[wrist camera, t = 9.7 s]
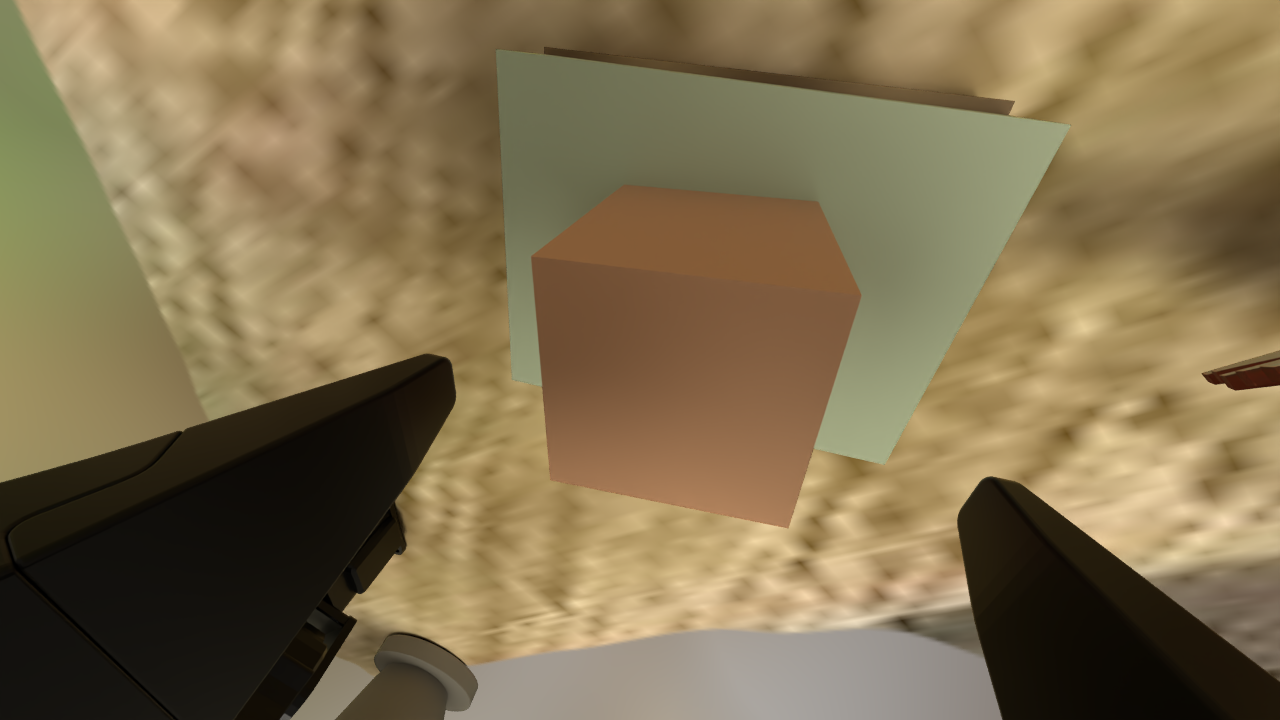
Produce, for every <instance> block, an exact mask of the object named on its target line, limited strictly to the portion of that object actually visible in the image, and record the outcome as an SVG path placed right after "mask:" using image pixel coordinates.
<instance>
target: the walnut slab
mask: <svg viewBox="0 0 1280 720" xmlns="http://www.w3.org/2000/svg"><path fill="white" fill-rule="evenodd" d="M544 54H546V55H554V56H561V57H569V58H577V59H584V60H592V61H599V62H607V63H615V64H622V65H630V66H637V67H645V68H653V69H660V70H668V71H676V72H683V73H691V74H698V75H706V76H714V77H721V78H729V79H736V80H744V81H752V82H759V83H767V84H774V85H782V86H790V87H797V88H805V89H812V90H820V91H828V92H835V93H843V94H850V95H858V96H866V97H873V98H881V99H889V100H896V101H904V102H911V103H919V104H927V105H934V106H942V107H949V108H957V109H965V110H972V111H980V112H987V113H995V114H1003V115H1009V113H1010V111H1011V109H1012V106H1013V104H1014V102H1015V101H1009V100H1000V99H992V98H983V97H974V96H966V95H957V94H948V93H939V92H931V91H922V90H913V89H905V88H896V87H887V86H879V85H870V84H861V83H852V82H844V81H835V80H826V79H818V78H809V77H800V76H792V75H783V74H774V73H766V72H757V71H748V70H739V69H731V68H722V67H713V66H705V65H696V64H687V63H679V62H670V61H661V60H652V59H644V58H635V57H626V56H618V55H609V54H600V53H592V52H583V51H574V50H565V49H557V48H548V47H544Z"/></svg>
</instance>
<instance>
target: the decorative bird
mask: <svg viewBox="0 0 1280 720" xmlns="http://www.w3.org/2000/svg"><path fill="white" fill-rule="evenodd" d="M1201 374H1202V375H1203V376H1204V377H1205V378H1206V380H1207V381H1208V382H1210V383H1212V384H1215V385H1217V384H1224V383H1225V384H1226V385H1227V387H1228V388H1231V389H1233V390H1245V389H1253V388H1261V387H1270V386H1278V385H1280V350H1279V351H1276V352H1273V353H1269V354H1266V355H1262V356H1259V357H1255V358H1252V359H1249V360H1245V361H1242V362H1238V363H1235V364H1232V365H1228V366H1225V367H1221V368H1218V369H1214V370H1211V371H1208V372H1204V373H1201Z"/></svg>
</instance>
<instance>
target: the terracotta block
mask: <svg viewBox="0 0 1280 720" xmlns="http://www.w3.org/2000/svg"><path fill="white" fill-rule="evenodd" d="M531 263H532V275H533V286H534V298H535V309H536V321H537V332H538V344H539V355H540V366H541V378H542V389H543V401H544V412H545V424H546V435H547V447H548V458H549V470H550V480H552V481H557V482H562V483H567V484H572V485H577V486H582V487H587V488H592V489H597V490H601V491H606V492H611V493H616V494H621V495H626V496H631V497H636V498H641V499H646V500H651V501H656V502H661V503H666V504H671V505H676V506H681V507H685V508H690V509H695V510H700V511H705V512H710V513H715V514H720V515H725V516H730V517H735V518H740V519H745V520H750V521H755V522H760V523H764V524H769V525H774V526H779V527H784V528H789V525H790V522H791V518H792V515H793V512H794V509H795V506H796V503H797V499H798V496H799V493H800V490H801V487H802V483H803V480H804V477H805V474H806V471H807V468H808V464H809V461H810V458H811V455H812V452H813V449H814V445H815V442H816V439H817V436H818V433H819V430H820V426H821V423H822V420H823V417H824V414H825V411H826V407H827V404H828V401H829V398H830V395H831V392H832V388H833V385H834V382H835V379H836V376H837V373H838V369H839V366H840V363H841V360H842V357H843V354H844V350H845V347H846V344H847V341H848V338H849V335H850V331H851V328H852V325H853V322H854V319H855V316H856V312H857V309H858V306H859V303H860V300H861V297H862V295H861V293H860V290H859V288H858V286H857V284H856V282H855V280H854V277H853V275H852V273H851V271H850V269H849V267H848V265H847V262H846V260H845V258H844V256H843V254H842V252H841V249H840V247H839V245H838V243H837V241H836V239H835V236H834V234H833V232H832V230H831V228H830V226H829V223H828V221H827V219H826V217H825V215H824V213H823V210H822V208H821V206H820V204H819V202H817V201H805V200H794V199H783V198H771V197H760V196H748V195H737V194H726V193H714V192H703V191H691V190H680V189H669V188H657V187H646V186H634V185H623V186H621V187H620V188H619V189H618V190H616V191H615V192H614V193H612V194H611V195H610V196H608V197H607V198H606V199H605V200H603V201H602V202H601V203H599V204H598V205H597V206H596V207H594V208H593V209H592V210H590V211H589V212H588V213H586V214H585V215H584V216H583V217H581V218H580V219H579V220H577V221H576V222H575V223H573V224H572V225H571V226H570V227H568V228H567V229H566V230H564V231H563V232H562V233H560V234H559V235H558V236H557V237H555V238H554V239H553V240H551V241H550V242H549V243H547V244H546V245H545V246H544V247H542V248H541V249H540V250H538V251H537V252H536V253H535V254H533V255H532V256H531Z"/></svg>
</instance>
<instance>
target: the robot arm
mask: <svg viewBox="0 0 1280 720" xmlns="http://www.w3.org/2000/svg"><path fill="white" fill-rule="evenodd" d="M455 401H456V389H455V382H454V375H453V369H452V364H451V362H450V360H449V359H448V358H446V357H442V356H438V355H433V354H423V355H419V356H416V357H413V358H410V359H407V360H403V361H400V362H397V363H394V364H391V365H387V366H384V367H381V368H378V369H375V370H372V371H368V372H365V373H362V374H359V375H356V376H352V377H349V378H346V379H343V380H340V381H336V382H333V383H330V384H327V385H324V386H320V387H317V388H314V389H311V390H308V391H305V392H301V393H298V394H295V395H292V396H289V397H285V398H282V399H279V400H276V401H273V402H269V403H266V404H263V405H260V406H257V407H254V408H250V409H247V410H244V411H241V412H238V413H234V414H231V415H228V416H225V417H222V418H218V419H215V420H212V421H209V422H206V423H202V424H199V425H196V426H193V427H190V428H187V429H185V430H184V431H183V432H182V431H176V432H174V433H170V434H167V435H164V436H161V437H157V438H154V439H151V440H148V441H145V442H141V443H138V444H135V445H131V446H128V447H125V448H121V449H118V450H115V451H112V452H108V453H105V454H102V455H98V456H95V457H92V458H88V459H84V460H81V461H78V462H74V463H70V464H67V465H63V466H59V467H56V468H52V469H49V470H45V471H41V472H38V473H34V474H31V475H27V476H23V477H20V478H16V479H13V480H9V481H5V482H1V483H0V720H290V719H291V718H292V716H293V715H294V714H295V713H296V712H297V711H298V709H299V708H300V707H301V706H302V704H303V703H304V702H305V700H306V699H307V698H308V697H309V695H310V694H311V693H312V691H313V690H314V688H315V687H316V685H317V684H318V682H319V681H320V679H321V678H322V676H323V674H324V673H325V671H326V670H327V668H328V666H329V665H330V663H331V662H332V660H333V658H334V657H335V655H336V654H337V652H338V651H339V649H340V647H341V646H342V644H343V643H344V641H345V639H346V638H347V636H348V635H349V633H350V632H351V630H352V628H353V627H354V625H355V624H356V622H357V620H356V619H355V618H353V617H352V616H347V615H346V614H344V613H343V612H342V611H343V610H344V609H345V607H346V606H347V605H348V604H349V602H350V601H351V600H352V598H353V597H354V596H355V595H356V593H358V594H362V593H363V592H365V591H366V590H367V588H368V587H369V586H370V585H371V583H372V582H373V581H374V579H375V578H376V577H377V576H378V574H379V573H380V572H381V570H382V569H383V568H384V566H385V565H386V564H387V563H388V561H389V560H390V559H391V557H392V556H393V555H394V554H397V555H401V554H402V553H403V552H404V551H405V549H406V546H405V543H404V539H403V536H402V532H401V528H400V525H399V521H398V518H397V514H396V510H395V507H394V501H395V500H396V499H397V497H398V496H399V494H400V493H401V492H402V490H403V489H404V488H405V486H406V485H407V483H408V482H409V481H410V479H411V478H412V476H413V475H414V473H415V472H416V470H417V468H418V467H419V465H420V464H421V462H422V460H423V458H424V457H425V455H426V453H427V452H428V450H429V448H430V446H431V445H432V443H433V441H434V440H435V438H436V436H437V434H438V433H439V431H440V429H441V428H442V426H443V424H444V422H445V421H446V419H447V417H448V416H449V414H450V412H451V410H452V409H453V407H454V404H455ZM957 525H958V532H959V538H960V543H961V549H962V555H963V561H964V567H965V572H966V578H967V584H968V590H969V596H970V602H971V607H972V612H973V616H974V621H975V625H976V629H977V633H978V636H979V640H980V643H981V647H982V650H983V654H984V657H985V661H986V664H987V668H988V671H989V675H990V678H991V682H992V685H993V688H994V692H995V695H996V699H997V702H998V706H999V709H1000V713H1001V717H1002V720H1280V681H1278V680H1277V679H1276V678H1275V677H1273V676H1272V675H1271V674H1269V673H1268V672H1267V671H1265V670H1264V669H1263V668H1261V667H1260V666H1259V665H1257V664H1256V663H1255V662H1254V661H1252V660H1251V659H1250V658H1248V657H1247V656H1246V655H1244V654H1243V653H1242V652H1240V651H1239V650H1238V649H1237V648H1235V647H1234V646H1233V645H1231V644H1230V643H1229V642H1227V641H1226V640H1225V639H1223V638H1222V637H1221V636H1219V635H1218V634H1217V633H1216V632H1214V631H1213V630H1212V629H1210V628H1209V627H1208V626H1206V625H1205V624H1204V623H1202V622H1201V621H1200V620H1199V619H1197V618H1196V617H1195V616H1193V615H1192V614H1191V613H1189V612H1188V611H1187V610H1185V609H1184V608H1183V607H1181V606H1180V605H1179V604H1178V603H1176V602H1175V601H1174V600H1172V599H1171V598H1170V597H1168V596H1167V595H1166V594H1164V593H1163V592H1162V591H1161V590H1159V589H1158V588H1157V587H1155V586H1154V585H1153V584H1151V583H1150V582H1149V581H1147V580H1146V579H1145V578H1144V577H1142V576H1141V575H1140V574H1138V573H1137V572H1136V571H1134V570H1133V569H1132V568H1130V567H1129V566H1128V565H1126V564H1125V563H1124V562H1123V561H1121V560H1120V559H1119V558H1117V557H1116V556H1115V555H1113V554H1112V553H1111V552H1109V551H1108V550H1107V549H1106V548H1104V547H1103V546H1102V545H1100V544H1099V543H1098V542H1096V541H1095V540H1094V539H1092V538H1091V537H1090V536H1088V535H1087V534H1086V533H1085V532H1083V531H1082V530H1081V529H1079V528H1078V527H1077V526H1075V525H1074V524H1073V523H1071V522H1070V521H1069V520H1068V519H1066V518H1065V517H1064V516H1062V515H1061V514H1060V513H1058V512H1057V511H1056V510H1054V509H1053V508H1052V507H1050V506H1049V505H1048V504H1047V503H1045V502H1044V501H1043V500H1041V499H1040V498H1039V497H1037V496H1036V495H1035V494H1033V493H1032V492H1031V491H1030V490H1028V489H1027V488H1026V487H1024V486H1023V485H1021V484H1020V483H1018V482H1015V481H1011V480H1006V479H1002V478H997V477H986V478H984V479H982V480H981V481H980V483H979V484H978V485H977V487H976V488H975V490H974V491H973V492H972V494H971V495H970V497H969V498H968V499H967V501H966V502H965V504H964V505H963V506H962V508H961V510H960V512H959V514H958V519H957Z"/></svg>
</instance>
